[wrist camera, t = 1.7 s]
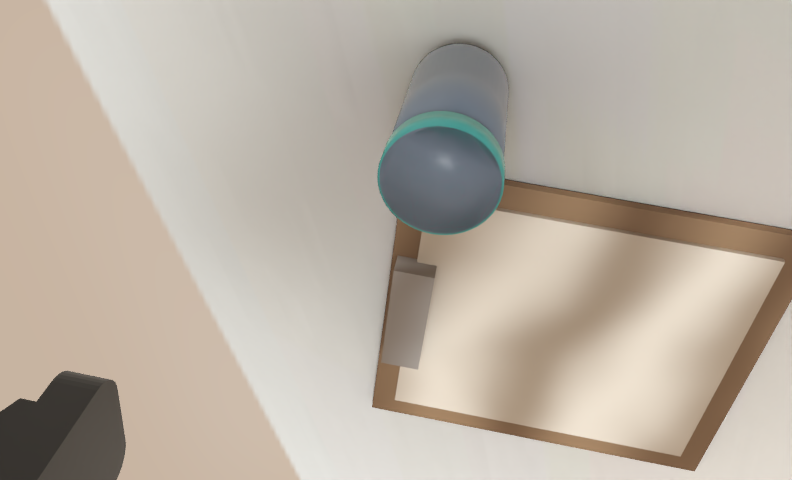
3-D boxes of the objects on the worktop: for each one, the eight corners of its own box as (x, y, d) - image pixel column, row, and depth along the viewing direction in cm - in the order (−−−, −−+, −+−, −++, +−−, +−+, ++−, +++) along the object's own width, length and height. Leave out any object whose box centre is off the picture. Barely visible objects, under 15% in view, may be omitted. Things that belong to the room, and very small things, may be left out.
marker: (520, 40, 23) (515, 136, 18) (500, 131, 25) (490, 244, 20) (420, 24, 24) (384, 113, 18) (408, 115, 25) (372, 223, 20)
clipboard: (821, 235, 26) (833, 257, 24) (692, 464, 33) (698, 489, 32) (406, 162, 26) (400, 180, 25) (373, 400, 34) (368, 423, 33)
